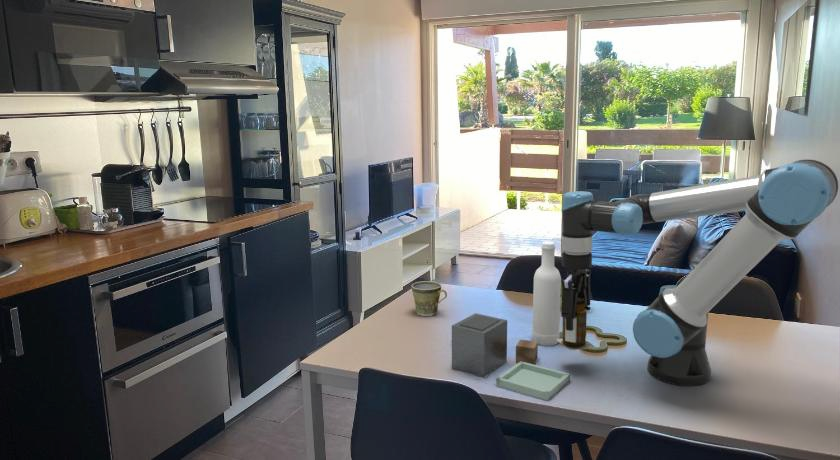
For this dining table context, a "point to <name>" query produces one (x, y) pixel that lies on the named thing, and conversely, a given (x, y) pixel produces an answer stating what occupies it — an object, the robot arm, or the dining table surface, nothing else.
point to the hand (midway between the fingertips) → (575, 337)
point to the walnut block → (526, 351)
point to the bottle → (546, 299)
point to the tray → (533, 380)
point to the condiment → (577, 329)
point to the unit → (479, 344)
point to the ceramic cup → (427, 297)
